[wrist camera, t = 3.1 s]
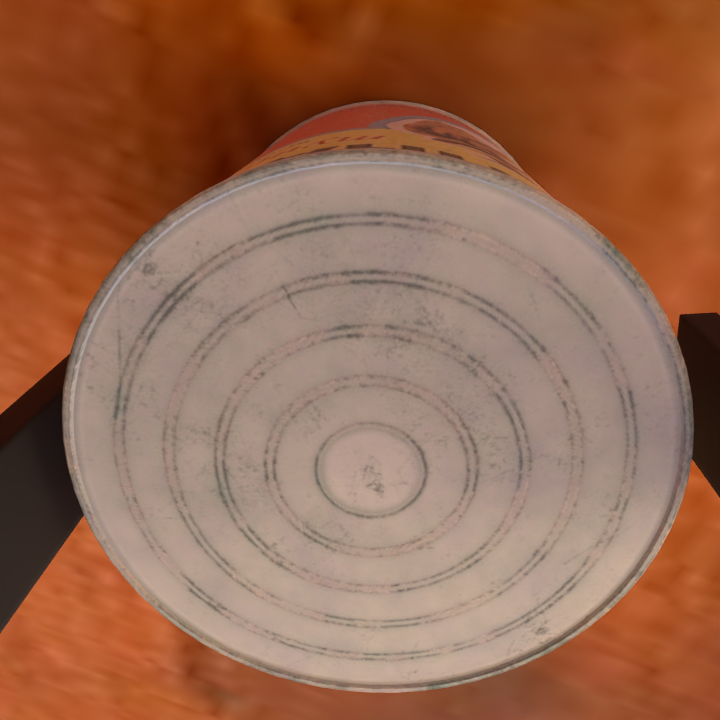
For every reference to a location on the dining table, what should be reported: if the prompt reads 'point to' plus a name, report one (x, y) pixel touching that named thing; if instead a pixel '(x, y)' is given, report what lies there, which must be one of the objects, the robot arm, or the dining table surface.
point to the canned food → (378, 410)
